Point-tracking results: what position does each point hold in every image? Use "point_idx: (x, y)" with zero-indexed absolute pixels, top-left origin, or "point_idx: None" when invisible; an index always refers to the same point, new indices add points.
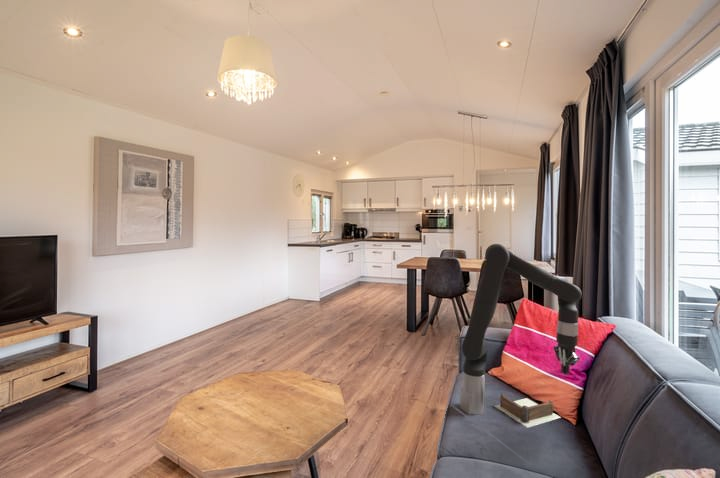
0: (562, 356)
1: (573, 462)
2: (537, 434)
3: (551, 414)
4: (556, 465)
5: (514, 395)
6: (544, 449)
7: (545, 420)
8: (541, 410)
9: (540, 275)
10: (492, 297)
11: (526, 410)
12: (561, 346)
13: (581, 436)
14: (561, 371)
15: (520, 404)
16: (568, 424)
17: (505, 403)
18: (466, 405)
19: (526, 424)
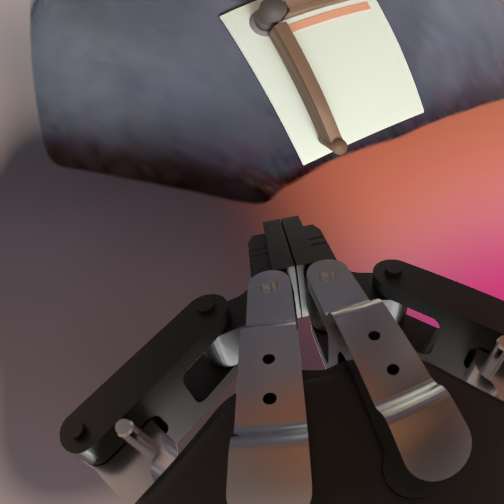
0: (338, 347)
1: (64, 108)
2: (187, 39)
3: None
4: (49, 63)
5: (441, 84)
6: (107, 42)
7: (277, 96)
8: (303, 90)
9: None
10: None
11: (258, 9)
12: (441, 492)
13: (195, 180)
14: (296, 219)
15: (383, 62)
16: (265, 171)
17: None
18: None
19: (241, 19)
